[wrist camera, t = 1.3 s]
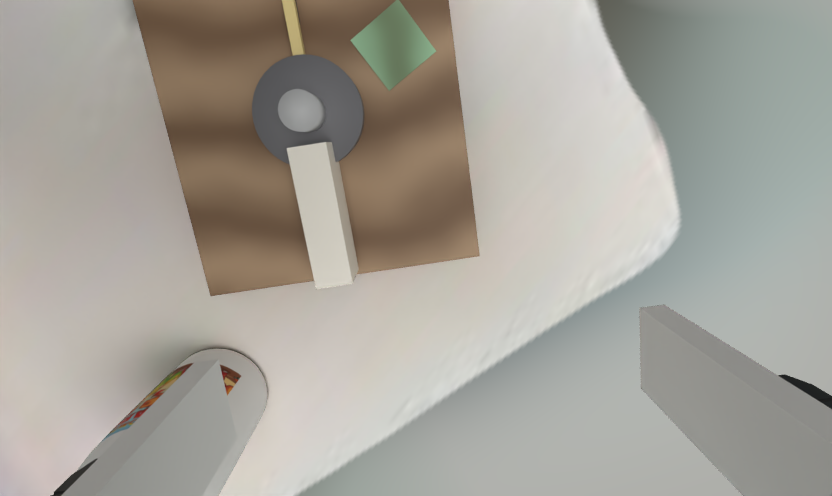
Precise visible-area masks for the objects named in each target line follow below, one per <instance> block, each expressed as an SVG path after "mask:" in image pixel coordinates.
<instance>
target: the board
mask: <svg viewBox="0 0 832 496" xmlns="http://www.w3.org/2000/svg"><path fill="white" fill-rule="evenodd" d="M295 2H296V7H297V13H298V18H299V23H300V28H301V34H302V39H303V44H304V49H305V54H306V55H315V56H319V57H322V58H325V59H327V60H329V61H331V62H333V63H334V64H336V65H337V66H339V67H340V68H341V69H342V70H343V71H344V72H345V73H346V74H347V75H348V76H349V77H350V78H351V79H352V81H353V82H354V84H355V85H356V87H357V89H358V91H359V93H360V95H361V98H362V101H363V106H364V126H363V130H362V134H361V136H360V139H359V141H358V142H357V144H356V146H355V147H354V148H353V150H352V151H351V152H350V153H349V154H348V155H347V156H346V157H344V158H343V159H342V160H340V161H339V165H340V171H341V176H342V182H343V187H344V192H345V198H346V203H347V209H348V214H349V219H350V225H351V230H352V236H353V241H354V247H355V252H356V257H357V263H358V268H359V270H358V272H357V274H362V273H369V272H376V271H382V270H389V269H396V268H403V267H409V266H416V265H423V264H430V263H436V262H443V261H450V260H456V259H463V258H470V257H477V256H479V247H478V239H477V231H476V223H475V214H474V206H473V198H472V190H471V182H470V173H469V165H468V157H467V149H466V141H465V132H464V124H463V116H462V108H461V100H460V91H459V83H458V75H457V67H456V59H455V50H454V42H453V34H452V26H451V18H450V9H449V1H448V0H295ZM133 4H134V7H135V11H136V15H137V19H138V22H139V26H140V30H141V34H142V38H143V41H144V45H145V49H146V53H147V57H148V60H149V64H150V68H151V72H152V76H153V79H154V83H155V87H156V91H157V94H158V98H159V102H160V106H161V110H162V113H163V117H164V121H165V125H166V129H167V132H168V136H169V140H170V144H171V148H172V151H173V155H174V159H175V163H176V166H177V170H178V174H179V178H180V182H181V185H182V189H183V193H184V197H185V201H186V204H187V208H188V212H189V216H190V219H191V223H192V227H193V231H194V235H195V238H196V242H197V246H198V250H199V254H200V257H201V261H202V265H203V269H204V273H205V276H206V280H207V284H208V288H209V291H210V295H211V296H215V295H221V294H228V293H235V292H241V291H248V290H255V289H262V288H268V287H275V286H282V285H288V284H295V283H302V282H309V281H314V278H313V273H312V268H311V263H310V259H309V254H308V249H307V244H306V239H305V235H304V230H303V225H302V220H301V215H300V211H299V206H298V201H297V196H296V191H295V187H294V182H293V177H292V172H291V167H290V165H289V164H287V163H285V162H283V161H281V160H280V159H278V158H277V157H275V156H274V155H273V154H272V153H271V152H270V151H269V150H268V149H267V148H266V147H265V145H264V144H263V143H262V141H261V139H260V138H259V136H258V134H257V131H256V129H255V125H254V122H253V116H252V101H253V96H254V92H255V89H256V86H257V84H258V82H259V80H260V78H261V77H262V76H263V74H264V73H265V72H266V71H267V70H268V69H269V68H270V67H271V66H272V65H274V64H275V63H276V62H278V61H280V60H282V59H284V58H287V57H290V56H293V54H292V49H291V44H290V39H289V34H288V29H287V24H286V19H285V14H284V9H283V3H282V0H133Z"/></svg>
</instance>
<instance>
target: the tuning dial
mask: <svg viewBox="0 0 832 496" xmlns="http://www.w3.org/2000/svg"><path fill="white" fill-rule="evenodd" d="M282 3H283V9H284V14H285V19H286V24H287V29H288V34H289V39H290V44H291V49H292V54H293V56H290V57H287V58H284V59H282V60H280V61H278V62H276V63H275V64H274V65H272V66H271V67H270V68H269V69H268V70H267V71H266V72H265V73H264V74H263V76H262V77H261V78H260V80H259V82H258V84H257V86H256V89H255V92H254V96H253V101H252V116H253V122H254V125H255V129H256V131H257V134H258V136H259V138H260V139H261V141H262V143H263V144H264V145H265V147H266V148H267V149H268V150H269V151H270V152H271V153H272V154H273V155H274V156H275V157H277V158H278V159H280V160H281V161H283V162H285V163H287V164H289V165H290V167H291V172H292V177H293V182H294V187H295V191H296V196H297V201H298V206H299V211H300V215H301V220H302V225H303V230H304V235H305V239H306V244H307V249H308V254H309V259H310V263H311V268H312V273H313V278H314V282H315V287H316V289H323V288H330V287H336V286H343V285H350V284H353V282H354V280H355V277H356V275H357V272H358V270H359V268H358V263H357V257H356V252H355V247H354V241H353V236H352V230H351V225H350V219H349V214H348V209H347V203H346V198H345V192H344V187H343V182H342V176H341V171H340V165H339V161H340V160H342V159H343V158H344V157H346V156H347V155H348V154H349V153H350V152H351V151H352V150H353V148H354V147H355V146H356V144H357V142H358V141H359V139H360V136H361V134H362V130H363V126H364V106H363V101H362V98H361V95H360V93H359V91H358V89H357V87H356V85H355V84H354V82H353V81H352V79H351V78H350V77H349V76H348V75H347V74H346V73H345V72H344V71H343V70H342V69H341V68H340V67H339V66H337V65H336V64H334V63H333V62H331V61H329V60H327V59H325V58H322V57H319V56H315V55H306V54H305V49H304V44H303V39H302V34H301V28H300V23H299V18H298V13H297V7H296V2H295V0H282Z"/></svg>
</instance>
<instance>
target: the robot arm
mask: <svg viewBox="0 0 832 496" xmlns="http://www.w3.org/2000/svg"><path fill="white" fill-rule="evenodd" d="M639 315H640V316H639V318H640V362H641V363H640V367H641V389H642V390H643V391H644V392H645V393H646V394H647V395H648V396H649V397H650V398H651V400H653V402H654V403H655V404H656V405H657V406H658V407H659V408H660V409H661V410H662V411H663V412H664V413H665V414H666V415H667V416H668V418H670V420H671V421H672V422H673V423H674V424H675V425H676V426H677V427H678V428H679V429H680V430H681V431H682V432H683V433H684V434H685V435H686V436H687V437H688V439H690V441H691V442H692V443H693V444H694V445H695V446H696V447H697V448H698V449H699V450H700V451H701V452H702V453H703V454H704V455H705V456H706V457H707V459H708V460H709V461H710V462H711V463H712V464H713V465H714V466H715V467H716V468H717V469H718V470H719V471H720V472H721V473H722V474H723V475H724V476H725V477H726V478H727V480H728V481H729V482H730V483H731V484H732V485H733V486H734V487H735V488H736V489H737V490H738V491H739V492H740V493H741V494H742V495H743V496H832V396H831V395H829V394H827V393H826V392H824V391H822V390H821V389H819V388H817V387H816V386H814V385H812V384H809V383H807V382H804V381H801V380H798V379H795V378H793V377H790V376H787V375H776V374H774V373H773V372H771V371H770V370H768V369H766V368H765V367H763V366H762V365H760V364H759V363H757V362H755V361H754V360H752V359H751V358H749V357H747V356H746V355H744V354H743V353H741V352H739V351H738V350H736V349H735V348H733V347H731V346H730V345H728V344H726V343H725V342H723V341H722V340H720V339H718V338H717V337H715V336H714V335H712V334H710V333H709V332H707V331H706V330H704V329H702V328H701V327H699V326H698V325H696V324H694V323H693V322H691V321H690V320H688V319H686V318H685V317H683V316H682V315H680V314H678V313H677V312H675V311H674V310H672V309H670V308H669V307H667V306H666V305H657V306H649V307H641V308H639ZM236 438H237V434H236V430H235V426H234V422H233V418H232V413H231V409H230V405H229V401H228V397H227V393H226V388H225V384H224V380H223V376H222V372H221V368H220V363H219V359H218V360H210V361H202V362H194V363H193V364H192V365H191V366H190V367H189V368H188V369H187V370H186V371H185V372H184V373H183V374H182V375H181V376H180V377H179V378H178V379H177V380H176V381H175V382H174V383H173V384H172V385H171V386H170V387H169V388H168V389H167V390H166V391H165V392H164V393H163V394H162V395H161V396H160V397H159V398H158V399H157V400H156V401H155V402H154V403H153V404H152V405H151V406H150V407H149V408H148V409H147V410H146V411H145V412H144V413H143V414H142V415H141V416H140V417H139V418H138V419H137V420H136V421H135V422H134V423H133V424H132V425H131V426H130V427H129V428H128V429H127V430H126V431H125V432H124V433H123V434H122V435H121V436H120V437H119V438H118V439H117V440H116V441H115V442H114V443H113V444H112V445H111V446H110V447H109V448H108V449H107V450H106V451H105V452H104V453H103V454H102V455H101V456H100V457H99V458H98V459H94V460H93V461H92V462H90V463H89V464H87V465H86V466H84V467H83V468H81V469H80V470H78V471H77V472H75V473H74V474H72V475H71V476H70V477H69V478H68V479H67V480H66V481H65V482H64V483H63V484H62V485H61V486H60V487H59V488H58V489H57V490H56V491H55V492H54V495H50V496H202V495H203V494H204V492H205V490H206V489H207V487H208V485H209V483H210V482H211V480H212V478H213V477H214V475H215V473H216V472H217V470H218V468H219V467H220V465H221V463H222V462H223V460H224V458H225V457H226V455H227V453H228V452H229V450H230V448H231V447H232V445H233V443H234V441H235V440H236Z"/></svg>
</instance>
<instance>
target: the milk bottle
mask: <svg viewBox="0 0 832 496" xmlns="http://www.w3.org/2000/svg"><path fill="white" fill-rule="evenodd" d="M218 359H219V363H220V368H221V372H222V376H223V380H224V384H225V388H226V393H227V397H228V401H229V405H230V409H231V413H232V418H233V422H234V426H235V430H236V434H237V438H236V440H235V441H234V443H233V445H232V447H231V448H230V450H229V452H228V453H227V455H226V457H225V458H224V460H223V462H222V463H221V465H220V467H219V468H218V470H217V472H216V473H215V475H214V477H213V478H212V480H211V482H210V483H209V485H208V487H207V489H206V490H205V492H204V494H203V495H202V496H218V495H219V494H220V492H221V490H222V488H223V486H224V485H225V483H226V481H227V479H228V477H229V476H230V474H231V472H232V470H233V468H234V467H235V465H236V463H237V461H238V459H239V457H240V456H241V454H242V452H243V450H244V448H245V446H246V444H247V443H248V441H249V439H250V437H251V435H252V433H253V431H254V430H255V428H256V426H257V424H258V422H259V420H260V418H261V416H262V414H263V412H264V410H265V407H266V404H267V386H266V382H265V379H264V377H263V375H262V373H261V371H260V370H259V369H258V367H257V366H256V365H255V364H254V363H253V362H252V361H251V360H250V359H248V358H247V357H245V356H244V355H242V354H239V353H237V352H235V351H231V350H227V349H208V350H203V351H200V352H197V353H195V354H193V355H191V356H189V357H188V358H187V359H185V360H184V361H183V362H182V363H181V364H180V365H179V366H177V367H176V368H175V369H174V370H173V371H172V372H171V373H170V374H169V375H168V376H167V377H166V378H165V379H164V380H163V381H162V382H161V383H160V384H159V385H158V386H157V387H156V388H155V389H154V390H153V391H152V392H150V393H149V394H148V395H147V396H146V397H145V398H144V399H143V400H142V401H141V402H140V403H139V404H138V405H137V406H136V407H135V408H134V409H133V410H132V411H131V412H130V413H129V414H128V415H127V416H126V417H125V418H124V419H123V420H122V421H121V422H120V423H119V424H118V425H117V426H116V427H115V428H114V429H113V430H112V431H111V432H110V433H109V434H108V435H107V436H106V437H105V438H104V439H103V440H102V441H101V442H100V443H99V445H98V446H97V447H96V448H95V449H94V450H93V451H92V452H91V453H90V454H89V456H88V457H87V458H86V459H85V461H84V462H83V463H82V465H81V466H80V467H79V469H78V470H80V469H81V468H83V467H84V466H86V465H87V464H89V463H90V462H92V461H93V460H94V459H98V458H99V457H100V456H101V455H102V454H103V453H104V452H105V451H106V450H107V449H108V448H109V447H110V446H111V445H112V444H113V443H114V442H115V441H116V440H117V439H118V438H119V437H120V436H121V435H122V434H123V433H124V432H125V431H126V430H127V429H128V428H129V427H130V426H131V425H132V424H133V423H134V422H135V421H136V420H137V419H138V418H139V417H140V416H141V415H142V414H143V413H144V412H145V411H146V410H147V409H148V408H149V407H150V406H151V405H152V404H153V403H154V402H155V401H156V400H157V399H158V398H159V397H160V396H161V395H162V394H163V393H164V392H165V391H166V390H167V389H168V388H169V387H170V386H171V385H172V384H173V383H174V382H175V381H176V380H177V379H178V378H179V377H180V376H181V375H182V374H183V373H184V372H185V371H186V370H187V369H188V368H189V367H190V366H191V365H192V364H193V363H194V362H202V361H210V360H218ZM78 470H77V471H78Z"/></svg>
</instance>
